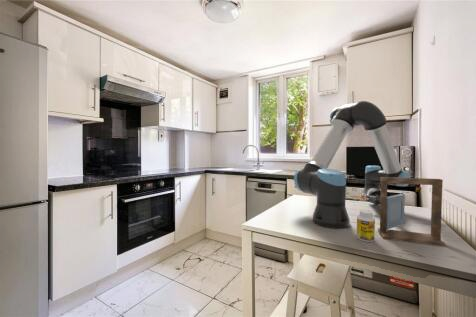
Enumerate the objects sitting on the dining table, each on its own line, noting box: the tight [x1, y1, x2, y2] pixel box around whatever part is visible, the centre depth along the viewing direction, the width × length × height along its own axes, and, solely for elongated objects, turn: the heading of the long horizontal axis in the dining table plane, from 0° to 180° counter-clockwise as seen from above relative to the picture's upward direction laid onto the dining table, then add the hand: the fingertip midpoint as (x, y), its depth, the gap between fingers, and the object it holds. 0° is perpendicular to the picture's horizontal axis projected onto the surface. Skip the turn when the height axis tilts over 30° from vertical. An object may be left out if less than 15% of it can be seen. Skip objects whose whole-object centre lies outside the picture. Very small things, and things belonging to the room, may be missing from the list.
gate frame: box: [377, 177, 446, 247], centre depth 78 cm, size 18×8×22 cm, turn 69°
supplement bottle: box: [356, 209, 376, 243], centre depth 77 cm, size 6×6×10 cm
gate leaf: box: [386, 193, 406, 230], centre depth 85 cm, size 13×2×12 cm, turn 119°
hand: (389, 207), depth 93 cm, fingers closed
